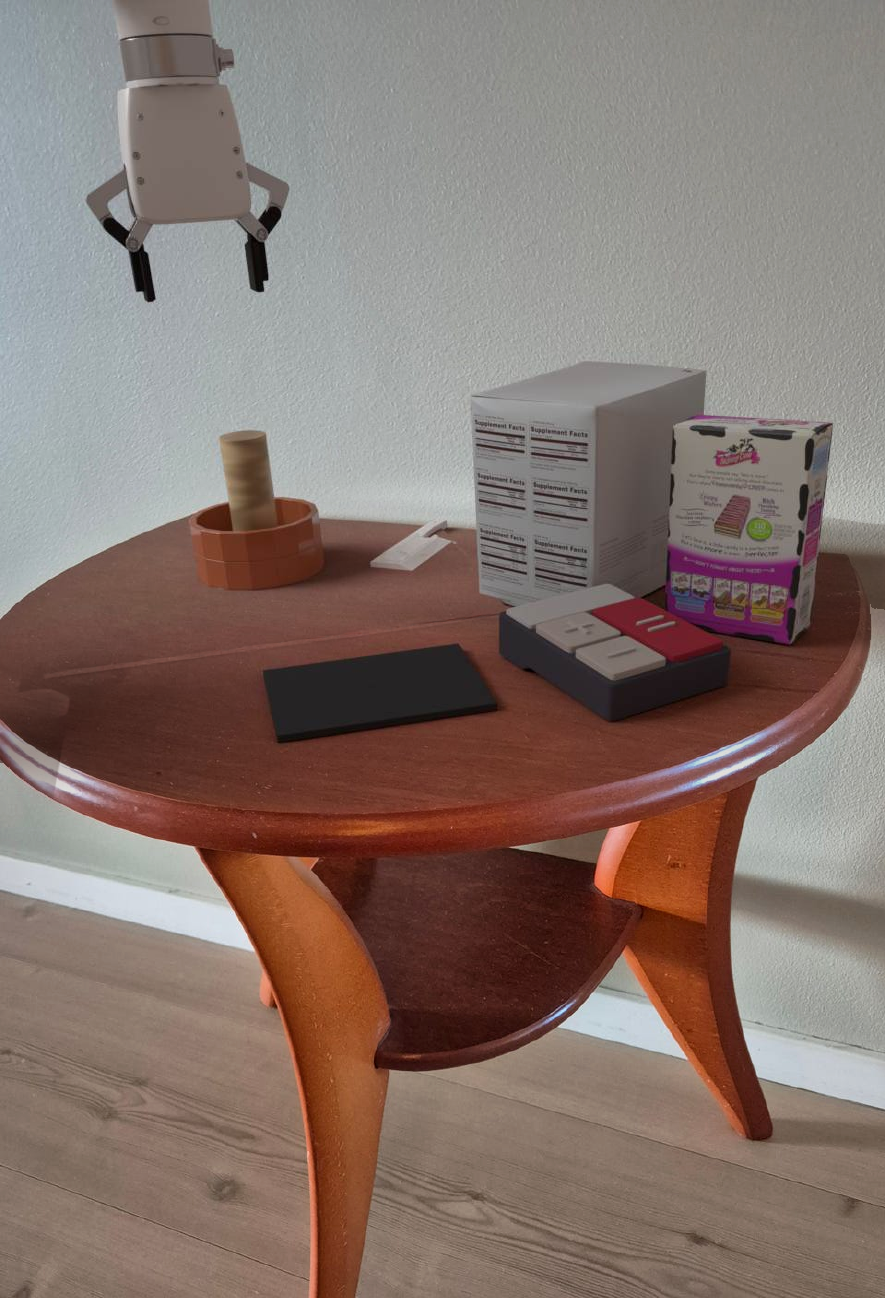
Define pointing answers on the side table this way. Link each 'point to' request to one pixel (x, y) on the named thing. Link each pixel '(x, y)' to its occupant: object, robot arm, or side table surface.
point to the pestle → (248, 480)
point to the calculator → (613, 650)
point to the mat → (374, 692)
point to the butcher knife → (413, 548)
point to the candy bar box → (746, 524)
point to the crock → (257, 547)
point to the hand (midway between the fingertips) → (204, 295)
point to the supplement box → (577, 478)
